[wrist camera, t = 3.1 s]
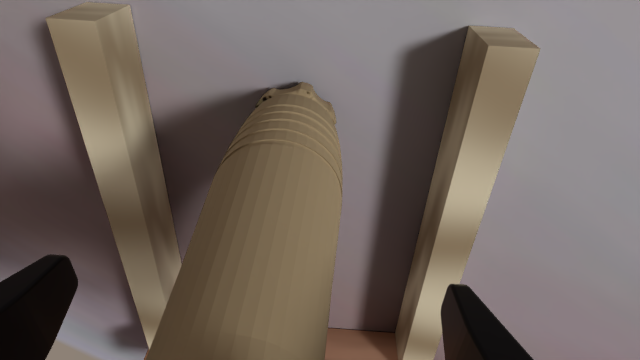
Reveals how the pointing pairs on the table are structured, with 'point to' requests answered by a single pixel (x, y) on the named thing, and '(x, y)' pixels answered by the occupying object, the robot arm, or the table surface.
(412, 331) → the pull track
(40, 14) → the table surface
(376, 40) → the table surface
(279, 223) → the handle
